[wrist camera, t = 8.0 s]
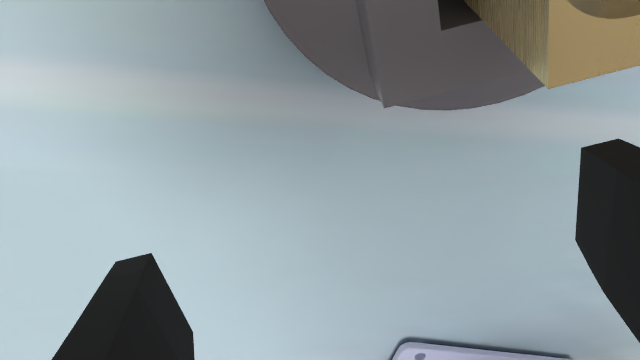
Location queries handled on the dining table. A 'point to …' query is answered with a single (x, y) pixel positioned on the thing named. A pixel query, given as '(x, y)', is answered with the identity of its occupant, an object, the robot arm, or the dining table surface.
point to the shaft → (566, 35)
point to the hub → (407, 51)
